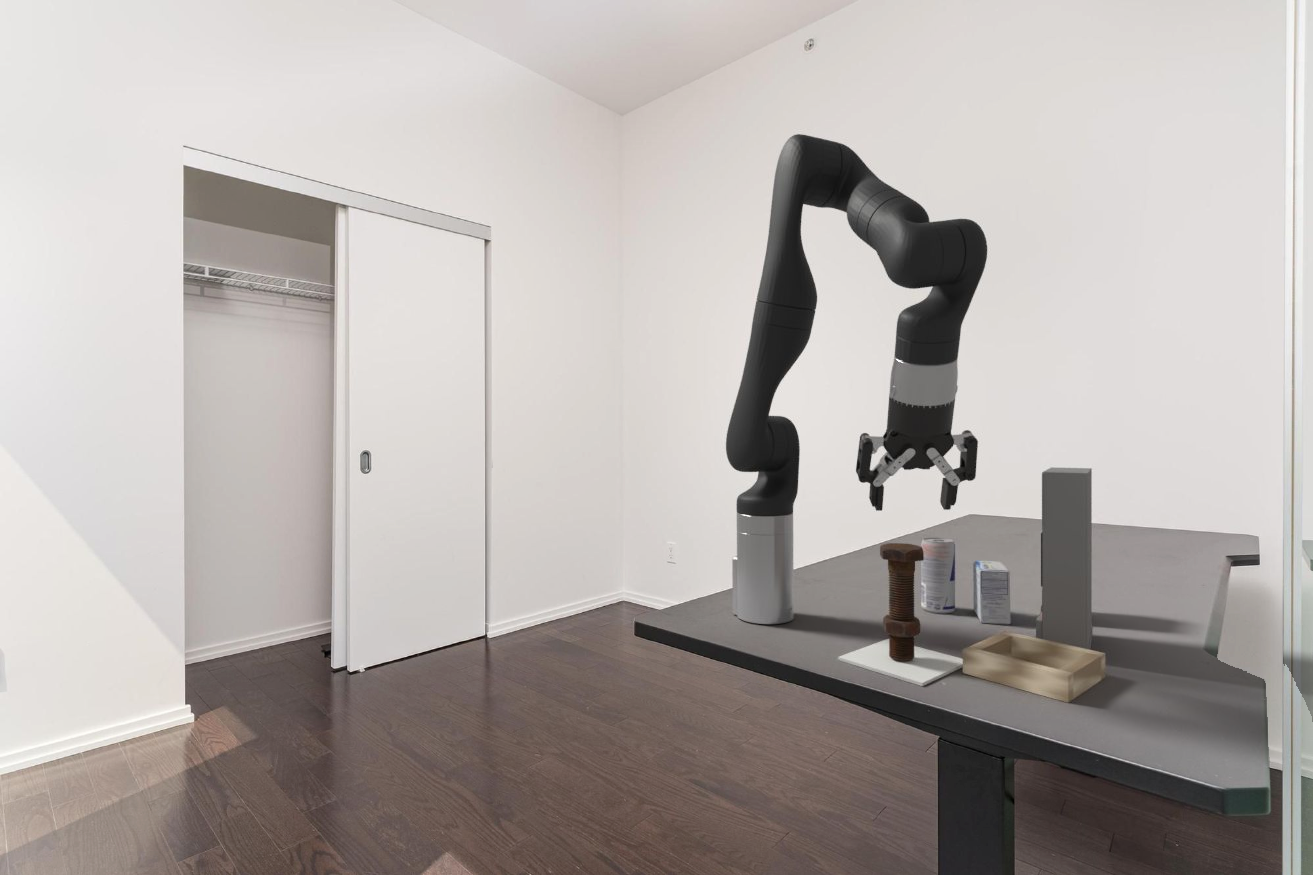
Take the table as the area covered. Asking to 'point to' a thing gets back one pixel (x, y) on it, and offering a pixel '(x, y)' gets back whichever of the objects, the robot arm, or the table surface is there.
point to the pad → (904, 663)
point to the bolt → (901, 599)
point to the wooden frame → (1035, 665)
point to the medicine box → (991, 592)
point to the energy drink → (938, 575)
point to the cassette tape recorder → (1066, 557)
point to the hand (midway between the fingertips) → (911, 507)
